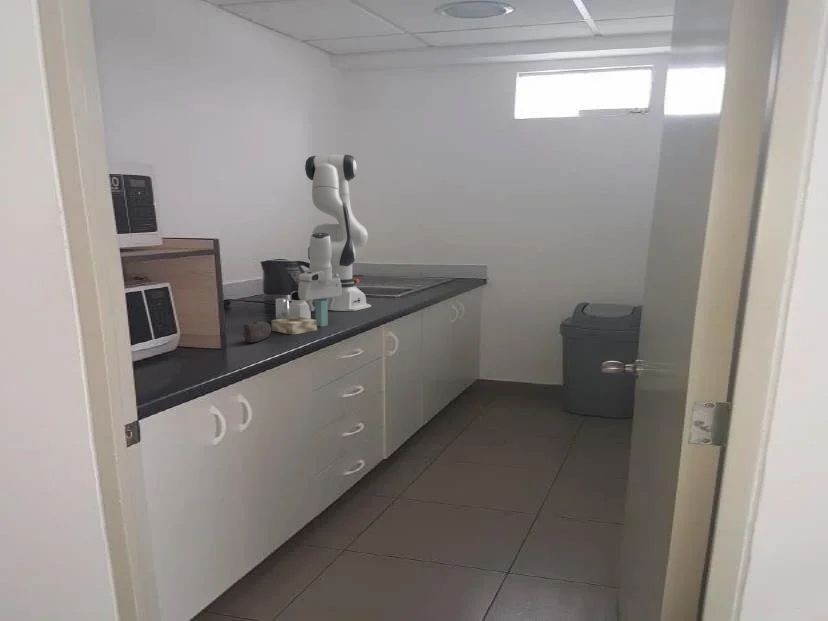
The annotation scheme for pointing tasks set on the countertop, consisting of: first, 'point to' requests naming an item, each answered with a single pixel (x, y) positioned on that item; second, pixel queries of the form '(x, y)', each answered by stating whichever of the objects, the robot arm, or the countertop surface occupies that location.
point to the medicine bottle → (299, 306)
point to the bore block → (294, 325)
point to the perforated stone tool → (256, 331)
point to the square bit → (321, 312)
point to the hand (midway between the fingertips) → (320, 309)
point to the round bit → (282, 308)
